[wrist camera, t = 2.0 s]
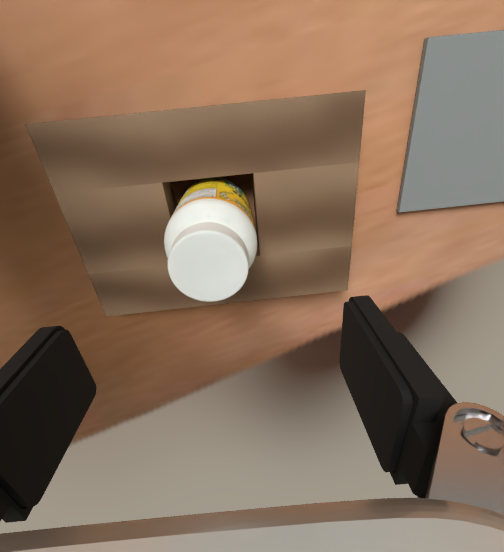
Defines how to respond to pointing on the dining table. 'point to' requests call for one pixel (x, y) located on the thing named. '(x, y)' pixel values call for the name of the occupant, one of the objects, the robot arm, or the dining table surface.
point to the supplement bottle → (211, 240)
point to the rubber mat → (456, 124)
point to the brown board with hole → (206, 164)
